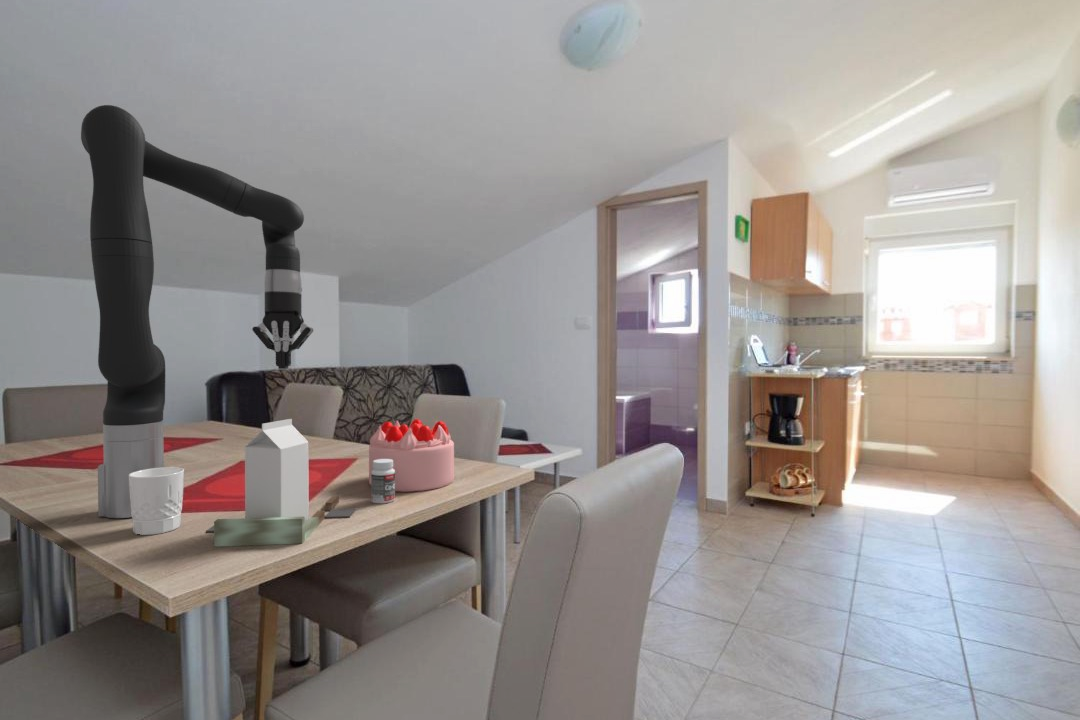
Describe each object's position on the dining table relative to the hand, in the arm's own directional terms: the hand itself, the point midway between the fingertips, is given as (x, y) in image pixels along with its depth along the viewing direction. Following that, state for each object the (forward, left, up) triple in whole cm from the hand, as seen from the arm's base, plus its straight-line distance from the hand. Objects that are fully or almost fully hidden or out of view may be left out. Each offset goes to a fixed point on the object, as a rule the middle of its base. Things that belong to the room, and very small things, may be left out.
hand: (283, 368), depth 122 cm
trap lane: (+8, -25, -27) cm, 38 cm away
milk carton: (+9, -30, -27) cm, 42 cm away
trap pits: (+8, -25, -27) cm, 38 cm away
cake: (+28, +3, -27) cm, 39 cm away
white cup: (-12, -27, -27) cm, 40 cm away
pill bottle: (+24, -13, -27) cm, 39 cm away
